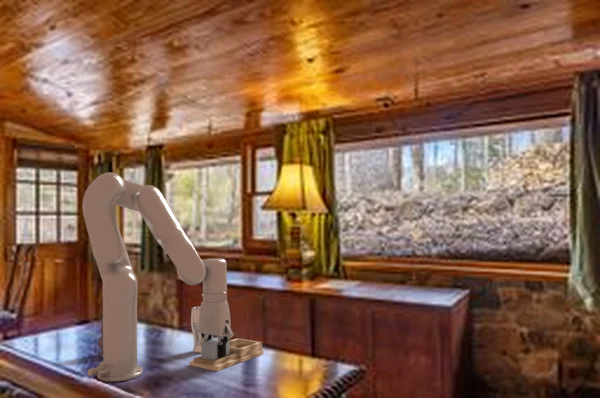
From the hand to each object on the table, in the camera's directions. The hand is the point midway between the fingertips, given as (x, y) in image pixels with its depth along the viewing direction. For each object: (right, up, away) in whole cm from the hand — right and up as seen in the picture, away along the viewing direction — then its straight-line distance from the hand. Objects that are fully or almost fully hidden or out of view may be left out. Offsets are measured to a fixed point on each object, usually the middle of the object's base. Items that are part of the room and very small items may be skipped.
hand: (215, 355), depth 159 cm
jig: (+3, -3, +4) cm, 6 cm away
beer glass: (-7, -4, +15) cm, 18 cm away
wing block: (0, 0, 0) cm, 0 cm away
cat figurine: (-38, -4, +12) cm, 40 cm away
